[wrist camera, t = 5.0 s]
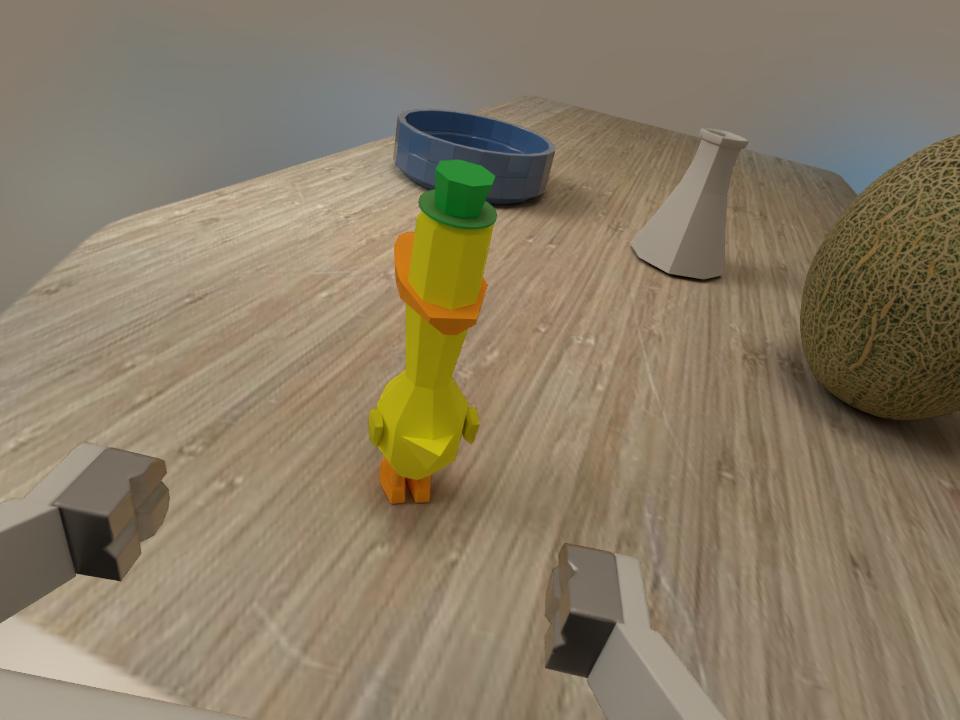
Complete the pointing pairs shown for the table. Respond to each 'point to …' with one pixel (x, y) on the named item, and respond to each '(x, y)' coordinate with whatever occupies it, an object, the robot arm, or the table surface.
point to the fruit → (891, 292)
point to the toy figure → (435, 330)
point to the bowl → (474, 151)
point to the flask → (694, 213)
